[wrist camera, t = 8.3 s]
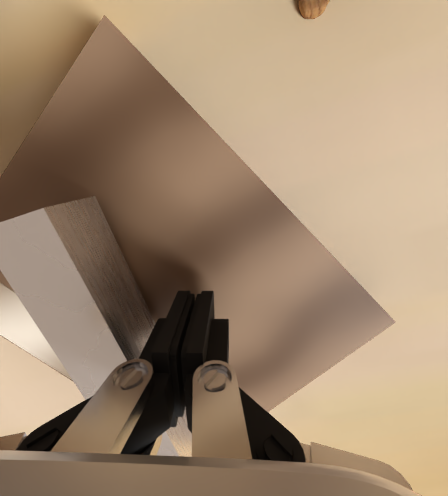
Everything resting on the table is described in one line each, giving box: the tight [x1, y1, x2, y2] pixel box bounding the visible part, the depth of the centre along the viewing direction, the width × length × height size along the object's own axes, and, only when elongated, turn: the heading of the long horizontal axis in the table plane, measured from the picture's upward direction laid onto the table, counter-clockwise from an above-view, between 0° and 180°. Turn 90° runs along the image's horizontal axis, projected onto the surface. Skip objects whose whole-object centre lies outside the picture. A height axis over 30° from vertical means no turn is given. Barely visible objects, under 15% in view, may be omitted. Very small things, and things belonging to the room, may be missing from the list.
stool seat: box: [0, 15, 395, 412], centre depth 13 cm, size 18×15×2 cm
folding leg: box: [0, 196, 192, 457], centre depth 11 cm, size 16×2×3 cm, turn 17°
